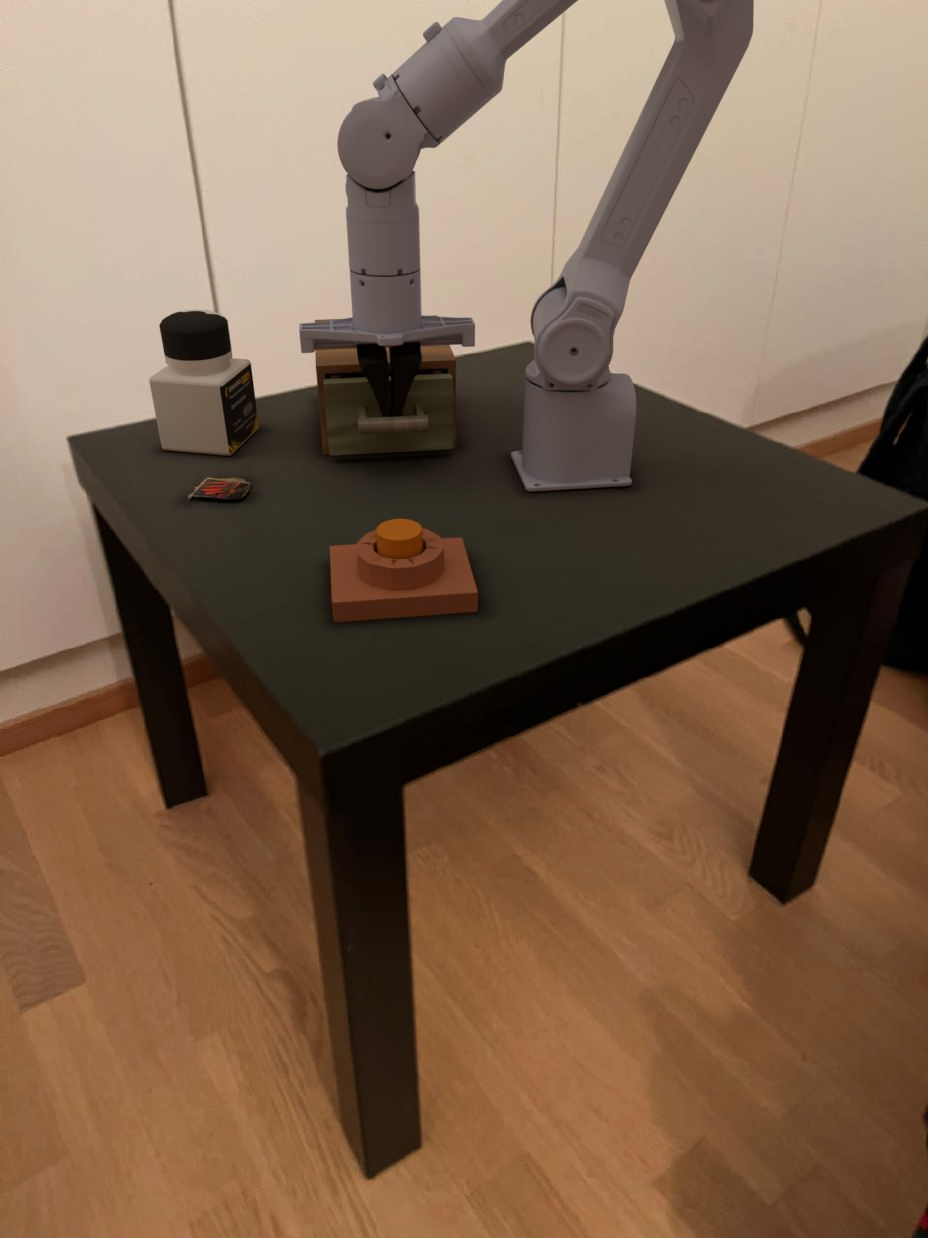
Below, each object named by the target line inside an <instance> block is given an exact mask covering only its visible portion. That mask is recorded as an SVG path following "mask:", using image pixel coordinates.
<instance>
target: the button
mask: <svg viewBox="0 0 928 1238" xmlns="http://www.w3.org/2000/svg"><path fill="white" fill-rule="evenodd" d="M422 528H423V527H422V525H421V524H420V523H419V522H417V521H415V520H412V519H410V518H409V519H408V518H392V519H388V520H385V521H383V522H381V523H380V524H379V525H378V526H377V527H376V529H375V530H376V534H377V551H378V554H379V555H380V556H381V557H386V558H391V559H409V558H412V557H415V556H417V555H420V554H421V553H422V551H423V543H422Z"/></svg>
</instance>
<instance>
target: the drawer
mask: <svg viewBox="0 0 928 1238" xmlns="http://www.w3.org/2000/svg"><path fill="white" fill-rule="evenodd" d="M324 394H325V406H326V418H327V430H328V442H329V454H330V455H329V456H348V455H349V456H350V455H366V454H387V453H403V452H404V453H407V452H423V451H425V452H426V451H441V450H442V451H443V450H454V448H453V378H452V375H451V374H442V372H441V369H425V370H418V372H417V374H416V376H415V378H414V380H413V382H412V385H411V387H410V390H409V392H408V395H407V399H406V402H405V406H404V410H403V414H402V416H394V417H382V415H381V411H380V408H379V405H378V402H377V400H376V397H375V395H374V392H373V390H372V388H371V386H370V384H369V382H368V380H367V378H366V376H365V374H364V372H356V373H333V374H331V379H324ZM389 401H390V407H391V371H389Z"/></svg>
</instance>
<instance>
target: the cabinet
mask: <svg viewBox="0 0 928 1238" xmlns="http://www.w3.org/2000/svg"><path fill="white" fill-rule="evenodd" d="M433 316H438V315H437V314H436V315H433ZM338 319H339V318H331V319H330V318H328V319H314V322H323V321H331V320H338ZM386 351H387V360H388V364H389V371H390V354H389V347H386ZM421 353H422V361H421V365H420V368H419V370H425V369H441V372H442V374H451V375H452V378H453V449H457V359H456V357H455V354H454V351H453V349H452V347H451V345H435V346H421ZM314 354H315V355H314V356H315V373H316V385H317V397H318V408H319V409H318V410H319V421H320V432H321V443H322V453H323V456H330V454H329V442H328V430H327V418H326V406H325V394H324V379H331V374H333V373H356V372H363V371H362V369H361V367H360V364H359V362H358V356H357V348H356V349H330V350H315V351H314Z"/></svg>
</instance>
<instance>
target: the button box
mask: <svg viewBox="0 0 928 1238" xmlns="http://www.w3.org/2000/svg"><path fill="white" fill-rule="evenodd" d="M422 543H423V551H422V553H421V554H420V555H417V556H415V557H412V558H409V559H391V558H386V557H381V556H380V555H379V554H378V551H377V534H376V529H375V530H372V531H369V532H367V533H365V534H364V535H363V536H362V537H361V538H360V539H359V540H358V541H357V542H356V543H353V544H340V545H339V544H338V545H330V546H329V564H330V566H329V567H330V588H331V591H330V592H331V607H332V618H333V619H332V620H333V623H347V622H348V623H349V622H359V621H360V622H362V621H373V620H375V621H377V620H386V619H388V620H389V619H400V618H401V619H403V618H413V617H415V618H416V617H428V616H442V615H451V614H452V615H454V614H456V615H457V614H468V613H478V611H479V591H478V588H477V587H478V586H477V584H476V581H475V577H474V573H473V569H472V566H471V564H470V560H469V557H468V552H467V550H466V546H465V543H464V539H463V537H461V536H460V537H446V538H445V537H444V538H442V537H441V536H439V535H438V534H437V533H435V532H433V531H432V530H430V529H428V528H423V527H422Z"/></svg>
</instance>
